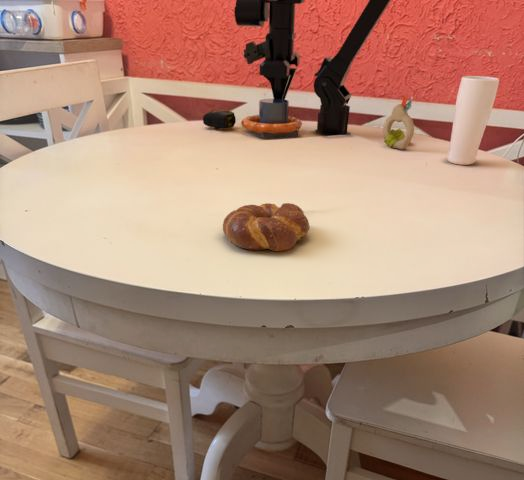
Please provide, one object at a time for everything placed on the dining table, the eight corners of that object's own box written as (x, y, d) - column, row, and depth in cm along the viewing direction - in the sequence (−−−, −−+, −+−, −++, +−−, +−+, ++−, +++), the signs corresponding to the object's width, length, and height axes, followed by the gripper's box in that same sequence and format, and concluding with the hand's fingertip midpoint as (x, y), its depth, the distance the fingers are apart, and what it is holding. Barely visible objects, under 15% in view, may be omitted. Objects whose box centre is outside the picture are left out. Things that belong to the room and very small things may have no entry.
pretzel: (267, 215, 71) (268, 189, 69) (328, 236, 65) (331, 208, 63) (204, 236, 64) (202, 208, 62) (265, 262, 58) (266, 232, 56)
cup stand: (281, 129, 124) (283, 97, 120) (298, 136, 117) (300, 102, 113) (248, 131, 121) (248, 98, 117) (263, 139, 114) (264, 104, 110)
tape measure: (201, 128, 122) (201, 112, 120) (219, 124, 127) (219, 108, 125) (223, 132, 119) (223, 115, 117) (240, 128, 123) (240, 112, 121)
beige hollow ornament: (428, 149, 110) (440, 90, 103) (399, 152, 106) (409, 92, 100) (405, 142, 115) (414, 86, 108) (377, 145, 112) (385, 87, 105)
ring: (288, 121, 126) (288, 113, 125) (310, 132, 115) (310, 123, 114) (235, 123, 122) (235, 115, 121) (252, 135, 111) (252, 125, 110)
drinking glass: (462, 157, 104) (482, 75, 96) (485, 165, 99) (508, 79, 90) (435, 159, 102) (453, 76, 93) (457, 167, 97) (478, 80, 88)
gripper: (256, 23, 121) (255, 94, 130) (236, 30, 106) (237, 110, 115) (301, 24, 119) (298, 97, 128) (287, 32, 104) (285, 112, 114)
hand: (279, 103), depth 121 cm, fingers open, 5 cm apart
